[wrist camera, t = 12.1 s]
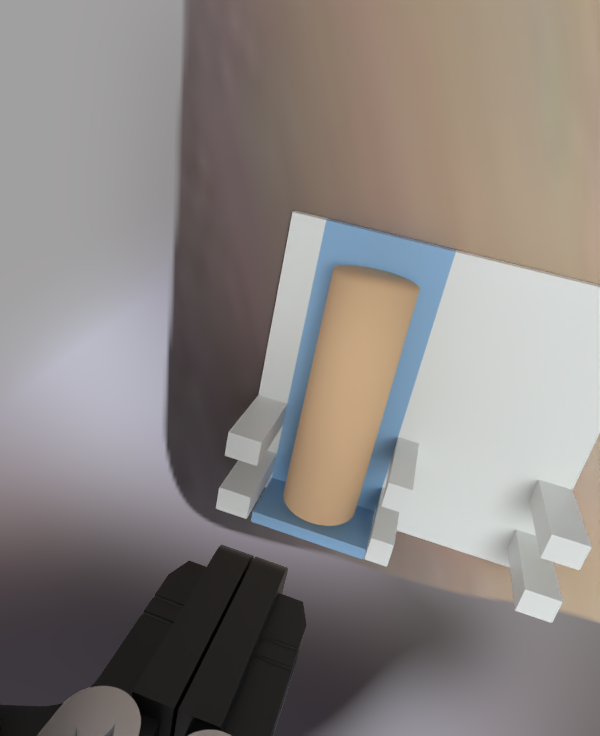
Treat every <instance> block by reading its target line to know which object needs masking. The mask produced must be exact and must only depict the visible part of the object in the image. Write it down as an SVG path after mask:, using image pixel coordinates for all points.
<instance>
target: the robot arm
mask: <svg viewBox="0 0 600 736" xmlns="http://www.w3.org/2000/svg"><path fill="white" fill-rule="evenodd" d="M287 571H288V568H286V567H284V566H281V565H278V564H275V563H272V562H269V561H267V560H264V559H261V558H258V557H255V558H254V557H253V556H252V555H249V554H246V553H244V552H241V551H238V550H235V549H232V548H229V547H227V546H224V545H221V546H220V547H219V548H218V549H217V551H216V553H215V554H214V556H213V557H212V559H211V561H210V563H209V564H208V566H207V567H205V566H202V565H200V564H197V563H194V562H191V561H188V562H187V563H185V564H184V565H182V566H181V567H179V568H178V569H176V570H175V571H173V572H172V573H170V574H169V575H168V576H167V578H166V579H165V581H164V582H163V584H162V585H161V587H160V588H159V590H158V591H157V592H156V594H155V597H154V598H152V600H151V601H150V603H149V604H148V606H147V607H146V609H145V610H144V613H143V615H141V616H140V618H139V619H138V621H137V622H136V624H135V625H134V627H133V628H132V629H131V631H130V633H129V634H128V635H127V637H126V638H125V640H124V641H123V643H122V644H121V646H120V647H119V649H118V650H117V652H116V653H115V655H114V656H113V658H112V659H111V661H110V662H109V664H108V665H107V667H106V668H105V669H104V671H103V672H102V674H101V675H100V677H99V678H98V679H97V681H96V682H95V683H94V684H93V685H92V686H91V687H90V688H87V689H84V690H82V691H80V692H78V693H76V694H75V695H73V696H71V697H70V698H69V699H68V700H66V701H65V702H64V703H61V704H58V705H52V706H40V707H39V706H14V705H0V736H273V735H274V731H275V728H276V725H277V721H278V719H279V716H280V712H281V709H282V706H283V703H284V700H285V697H286V693H287V690H288V687H289V684H290V681H291V678H292V674H293V671H294V667H295V664H296V660H297V656H298V653H299V649H300V646H301V642H302V639H303V635H304V632H305V628H306V620H305V613H304V606H303V602H302V601H299V600H296V599H293V598H291V597H288V596H285V595H283V594H282V592H283V588H284V584H285V580H286V575H287Z"/></svg>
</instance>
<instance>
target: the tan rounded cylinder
mask: <svg viewBox="0 0 600 736" xmlns="http://www.w3.org/2000/svg"><path fill="white" fill-rule="evenodd" d="M419 291H420V288H419V286H418V285H417V284H415V283H414V282H412V281H410V280H408V279H406V278H404V277H402V276H399V275H396V274H393V273H390V272H387V271H383V270H379V269H375V268H370V267H364V266H356V265H341V266H337V267H335V268H334V269H333V272H332V277H331V281H330V286H329V290H328V295H327V299H326V304H325V308H324V313H323V317H322V322H321V326H320V331H319V335H318V340H317V344H316V349H315V353H314V358H313V362H312V367H311V371H310V376H309V380H308V385H307V389H306V394H305V398H304V403H303V407H302V412H301V416H300V421H299V425H298V430H297V434H296V439H295V443H294V448H293V452H292V457H291V461H290V466H289V470H288V475H287V479H286V484H285V488H284V493H283V498H284V502H285V504H286V506H287V507H288V508H289V509H290V511H291V512H293V513H294V514H295V515H296V516H298V517H299V518H301V519H303V520H305V521H307V522H310V523H313V524H317V525H324V526H334V525H340V524H343V523H345V522H347V521H349V520H350V519H351V518H352V517H353V515H354V513H355V510H356V507H357V503H358V500H359V497H360V493H361V490H362V486H363V483H364V479H365V476H366V473H367V469H368V466H369V462H370V459H371V455H372V452H373V449H374V445H375V442H376V438H377V435H378V431H379V428H380V424H381V421H382V418H383V414H384V411H385V407H386V404H387V400H388V397H389V394H390V390H391V387H392V383H393V380H394V376H395V373H396V370H397V366H398V363H399V359H400V356H401V352H402V349H403V346H404V342H405V339H406V335H407V332H408V328H409V325H410V322H411V318H412V315H413V311H414V308H415V304H416V301H417V298H418V294H419Z"/></svg>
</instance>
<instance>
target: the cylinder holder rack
mask: <svg viewBox="0 0 600 736" xmlns="http://www.w3.org/2000/svg"><path fill="white" fill-rule="evenodd" d="M341 265H356V266H364V267H370V268H375V269H379V270H383V271H387V272H390V273H393V274H396V275H399V276H402V277H404V278H406V279H408V280H410V281H412V282H414V283H415V284H417V285H418V286H419V288H420V291H419V294H418V298H417V301H416V304H415V308H414V311H413V315H412V318H411V322H410V325H409V328H408V332H407V335H406V339H405V342H404V346H403V349H402V352H401V356H400V359H399V363H398V366H397V370H396V373H395V376H394V380H393V383H392V387H391V390H390V394H389V397H388V400H387V404H386V407H385V411H384V414H383V418H382V421H381V424H380V428H379V431H378V435H377V438H376V442H375V445H374V449H373V452H372V455H371V459H370V462H369V466H368V469H367V473H366V476H365V479H364V483H363V486H362V490H361V493H360V497H359V500H358V503H357V507H356V510H355V513H354V515H353V517H352V518H351V519H350V520H349V521H347V522H345V523H343V524H340V525H334V526H324V525H317V524H313V523H310V522H307V521H305V520H303V519H301V518H299V517H298V516H296V515H295V514H294V513H293V512H291V511H290V509H289V508H288V507H287V506H286V504H285V502H284V498H283V493H284V488H285V484H286V479H287V475H288V470H289V466H290V461H291V457H292V452H293V448H294V443H295V439H296V434H297V430H298V425H299V421H300V416H301V412H302V407H303V403H304V398H305V394H306V389H307V385H308V380H309V376H310V371H311V367H312V362H313V358H314V353H315V349H316V344H317V340H318V335H319V331H320V326H321V322H322V317H323V313H324V308H325V304H326V299H327V295H328V290H329V286H330V281H331V277H332V272H333V269H334V268H335V267H337V266H341ZM599 434H600V285H599V284H595V283H591V282H587V281H583V280H579V279H574V278H570V277H566V276H562V275H558V274H554V273H550V272H546V271H542V270H538V269H534V268H529V267H525V266H521V265H517V264H513V263H509V262H505V261H501V260H497V259H493V258H489V257H484V256H480V255H476V254H472V253H468V252H464V251H460V250H456V249H452V248H448V247H444V246H440V245H435V244H431V243H427V242H423V241H419V240H415V239H411V238H407V237H403V236H399V235H395V234H390V233H386V232H382V231H378V230H374V229H370V228H366V227H362V226H358V225H354V224H350V223H345V222H341V221H337V220H333V219H329V218H325V217H321V216H317V215H313V214H309V213H305V212H300V211H294V212H292V218H291V223H290V228H289V234H288V239H287V245H286V250H285V255H284V261H283V266H282V271H281V277H280V282H279V287H278V293H277V298H276V304H275V309H274V314H273V320H272V325H271V330H270V336H269V341H268V346H267V352H266V357H265V363H264V368H263V373H262V379H261V384H260V389H259V395H258V396H257V397H256V399H255V400H254V401H253V402H252V404H251V405H250V406H249V407H248V409H247V410H246V411H245V412H244V413H243V415H242V416H241V417H240V418H239V420H238V421H237V422H236V423H235V425H234V426H233V427H232V428H231V430H230V431H229V432H228V438H227V444H226V450H225V456H227V457H231V458H234V459H237V460H238V461H237V463H236V464H235V466H234V467H233V468H232V470H231V471H230V473H229V474H228V476H227V477H226V478H225V480H224V481H223V483H222V484H221V486H220V487H219V492H218V498H217V504H216V509H218V510H221V511H224V512H227V513H230V514H233V515H236V516H239V517H242V518H245V519H247V517H248V516H249V514H250V512H251V510H252V509H253V507H254V505H255V503H256V502H257V500H258V498H259V496H260V494H261V493H262V491H263V489H264V487H266V489H265V491H264V492H263V494H262V496H261V498H260V499H259V501H258V503H257V505H256V507H255V508H254V510H253V513H252V518H251V522H254V523H257V524H260V525H263V526H266V527H269V528H271V529H274V530H277V531H280V532H283V533H286V534H289V535H292V536H295V537H298V538H301V539H304V540H307V541H310V542H313V543H315V544H318V545H321V546H324V547H327V548H330V549H333V550H336V551H339V552H342V553H345V554H348V555H351V556H354V557H357V558H360V559H362V560H363V558H364V555H365V552H366V555H365V560H368V561H371V562H374V563H377V564H380V565H383V566H386V567H387V565H388V562H389V559H390V556H391V553H392V550H393V547H394V543H395V537H396V530H397V531H400V532H403V533H406V534H409V535H412V536H415V537H418V538H421V539H424V540H427V541H430V542H433V543H437V544H440V545H443V546H446V547H449V548H452V549H455V550H458V551H461V552H464V553H467V554H470V555H473V556H476V557H479V558H482V559H485V560H488V561H491V562H494V563H497V564H500V565H503V566H506V567H509V568H510V574H511V582H512V590H513V598H514V606H515V611H518V612H521V613H524V614H527V615H530V616H533V617H536V618H539V619H542V620H545V621H548V622H550V623H552V621H553V620H554V618H555V616H556V614H557V612H558V610H559V608H560V606H561V604H562V603H563V600H562V596H561V592H560V588H559V583H558V579H557V575H556V570H555V566H554V562H555V563H558V564H561V565H564V566H567V567H570V568H573V569H577V570H580V568H581V566H582V565H583V563H584V561H585V559H586V557H587V555H588V553H589V551H590V549H591V547H592V546H591V543H590V540H589V537H588V534H587V532H586V529H585V526H584V523H583V520H582V517H581V514H580V511H579V508H578V505H577V502H576V499H575V496H574V493H573V488H574V486H575V484H576V481H577V479H578V477H579V475H580V473H581V471H582V469H583V467H584V465H585V463H586V461H587V459H588V457H589V454H590V452H591V450H592V448H593V446H594V444H595V442H596V440H597V438H598V436H599ZM372 522H373V524H372ZM371 526H372V528H371ZM370 531H371V533H370ZM369 535H370V537H369ZM368 540H369V541H368ZM367 544H368V546H367ZM366 548H367V550H366Z"/></svg>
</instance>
